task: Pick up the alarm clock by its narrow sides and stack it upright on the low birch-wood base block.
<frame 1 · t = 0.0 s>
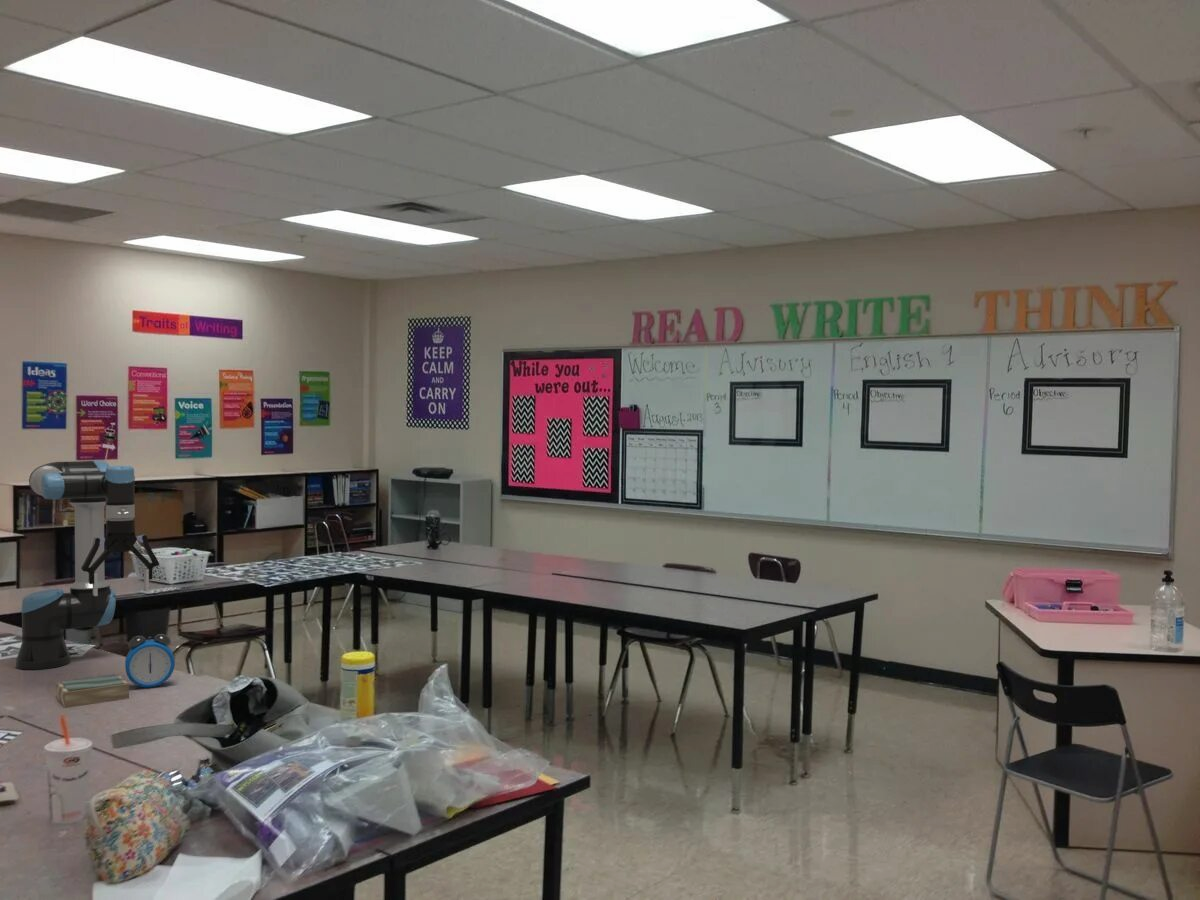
hand: (121, 593, 294), 28 cm above the table, fingers open, 13 cm apart
alarm clock: (150, 686, 299), on the table
base: (92, 697, 286), on the table
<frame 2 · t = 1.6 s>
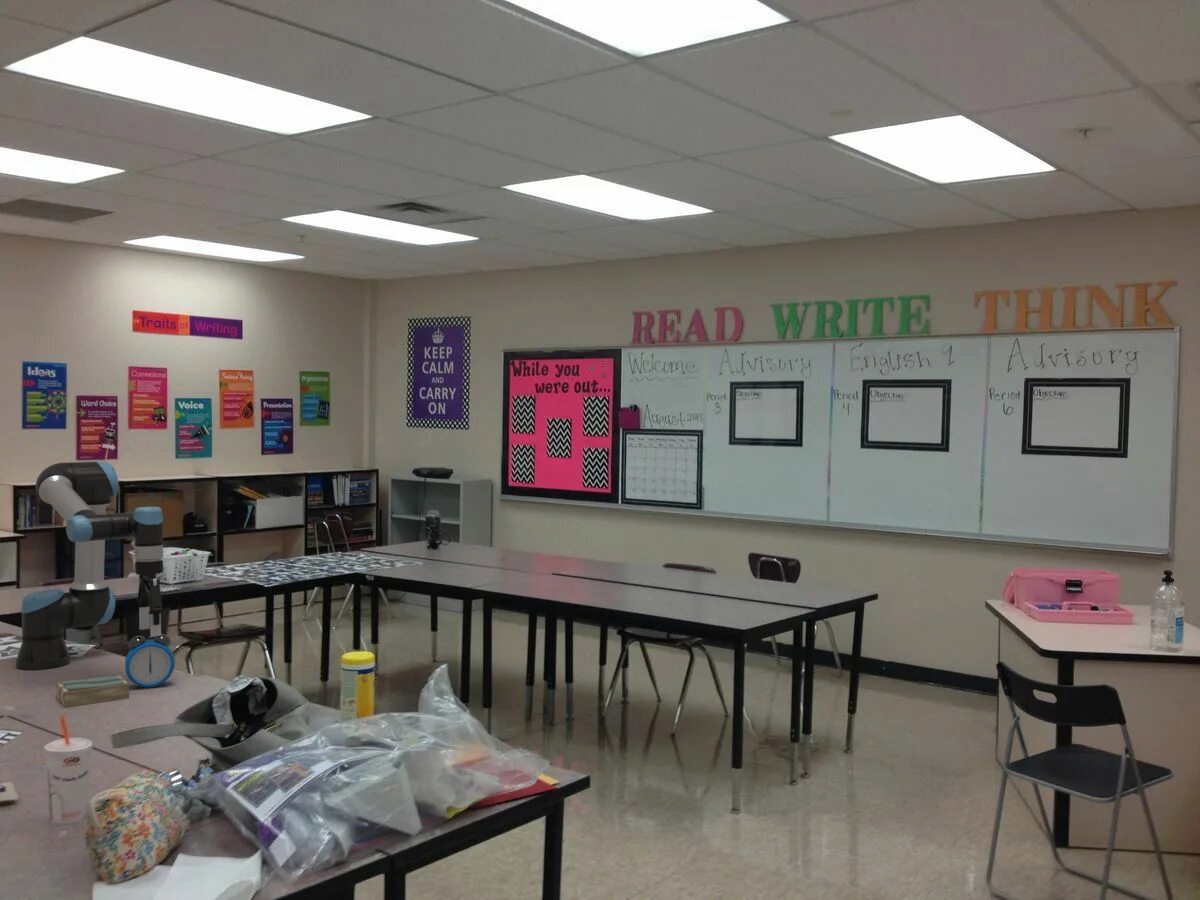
hand: (150, 632, 298), 16 cm above the table, fingers open, 13 cm apart
nothing on the table moved.
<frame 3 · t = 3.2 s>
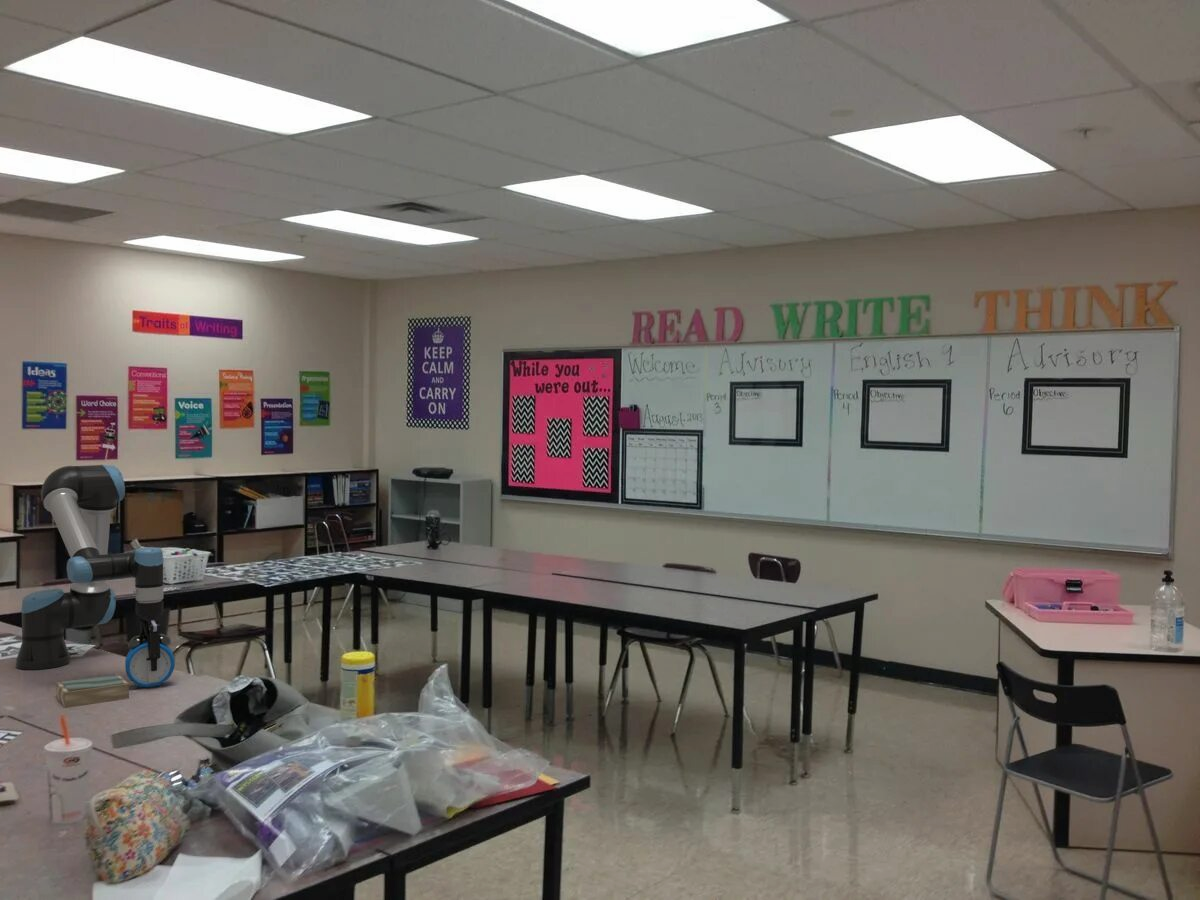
hand: (150, 679, 299), 2 cm above the table, fingers closed on alarm clock, 7 cm apart
alarm clock: (150, 686, 299), on the table, touching gripper
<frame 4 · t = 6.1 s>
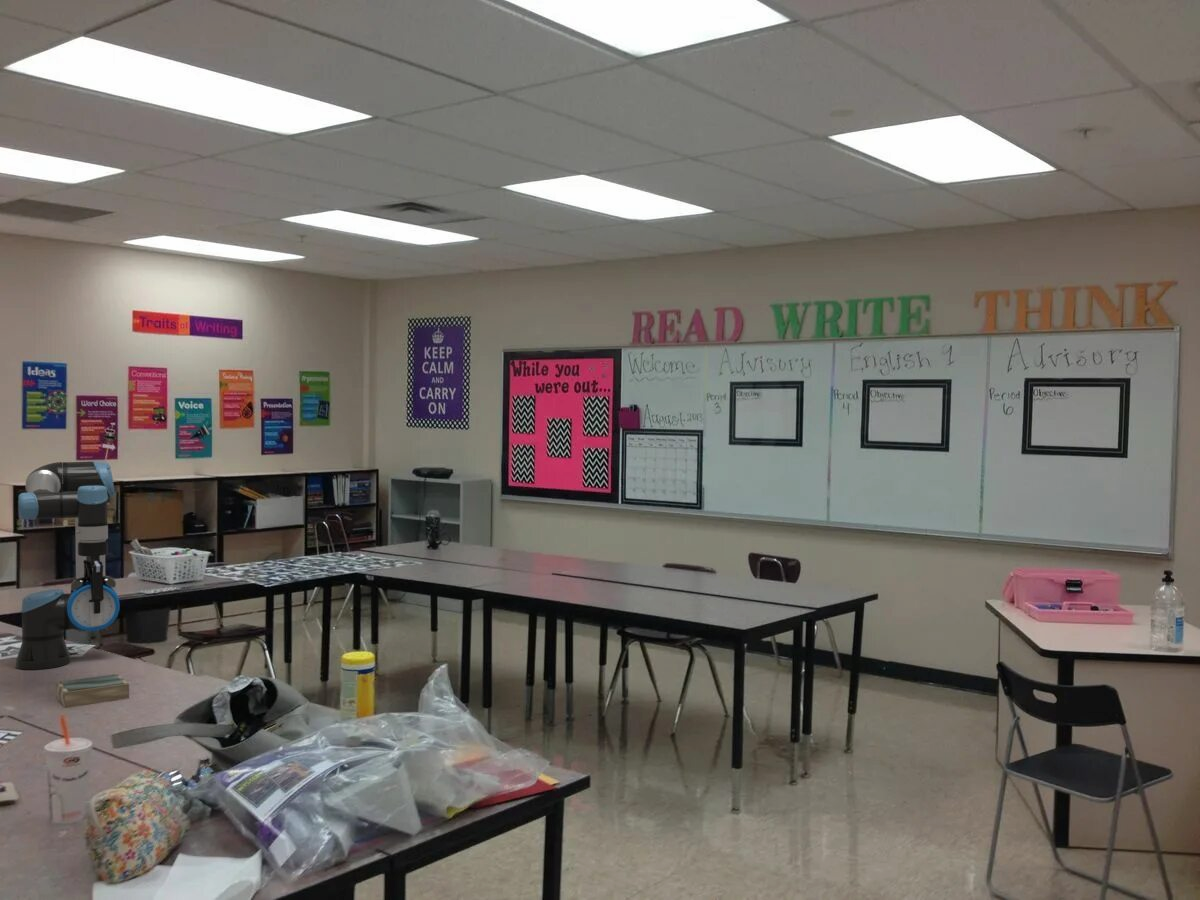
hand: (93, 622, 286), 21 cm above the table, fingers closed on alarm clock, 7 cm apart
alarm clock: (93, 630, 286), point 19 cm above the table, touching gripper
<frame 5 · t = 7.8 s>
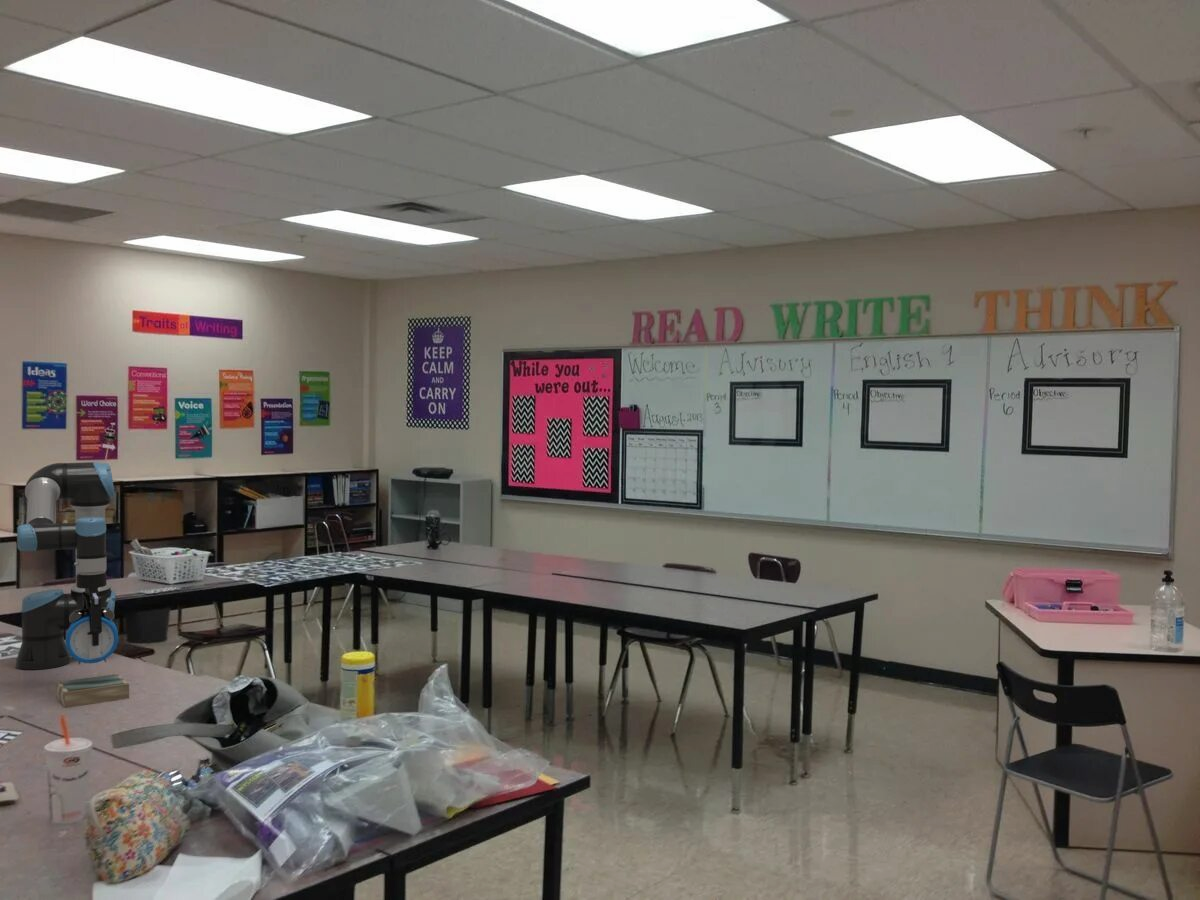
hand: (92, 654, 286), 12 cm above the table, fingers closed on alarm clock, 7 cm apart
alarm clock: (92, 662, 286), point 10 cm above the table, touching gripper
when the fingers open (7 cm above the table, at t = 9.1 s): alarm clock stays where it is, resting on base.
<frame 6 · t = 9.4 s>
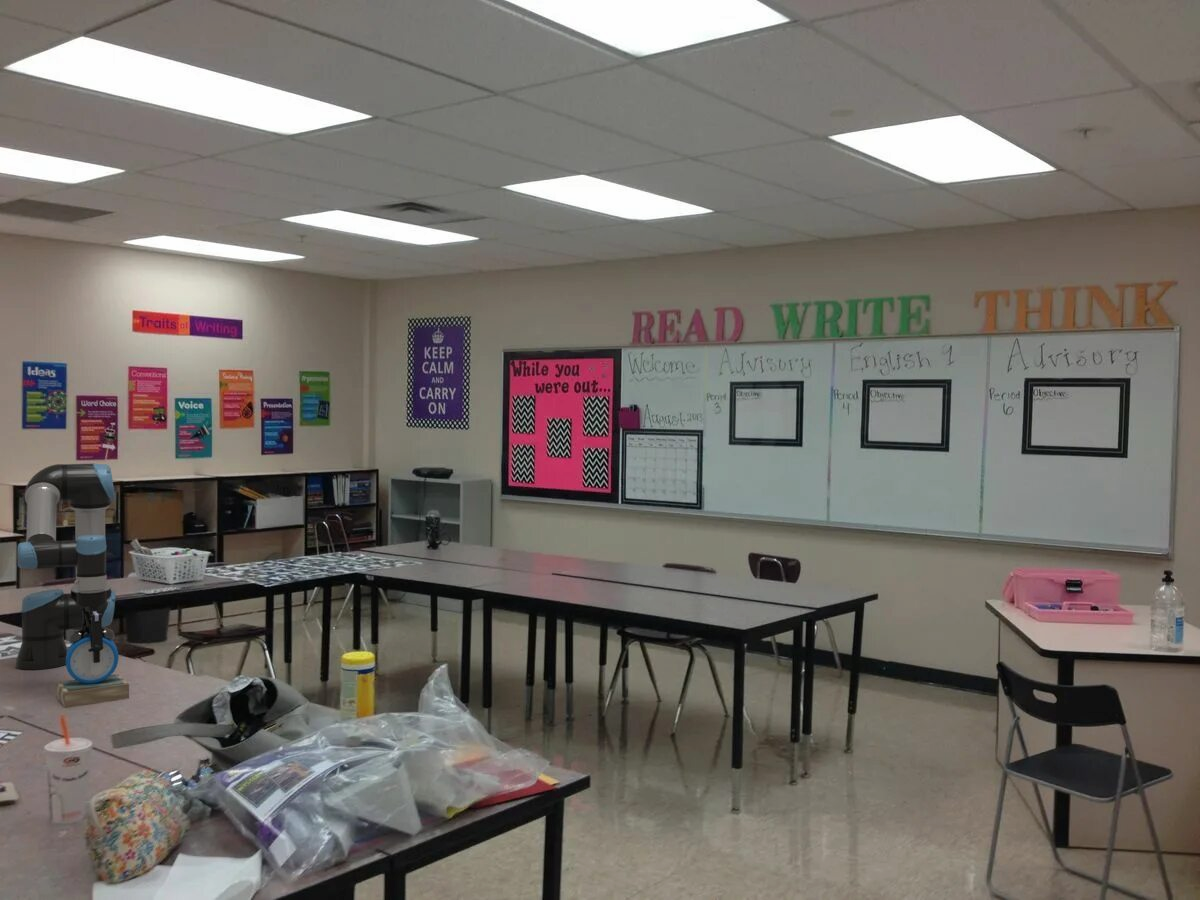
hand: (92, 670, 286), 8 cm above the table, fingers open, 9 cm apart
alarm clock: (92, 682, 286), point 4 cm above the table, touching base
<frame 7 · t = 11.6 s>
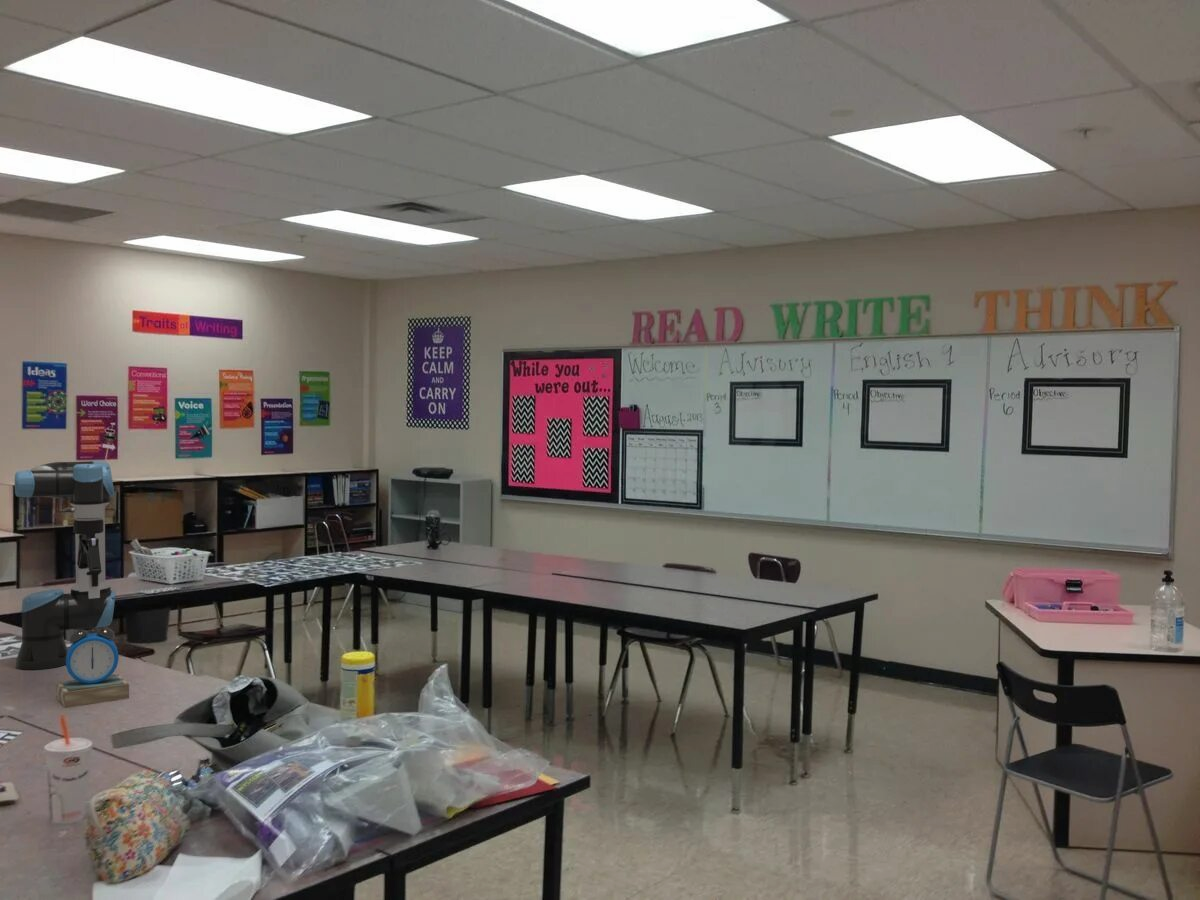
hand: (89, 594, 286), 29 cm above the table, fingers open, 13 cm apart
nothing on the table moved.
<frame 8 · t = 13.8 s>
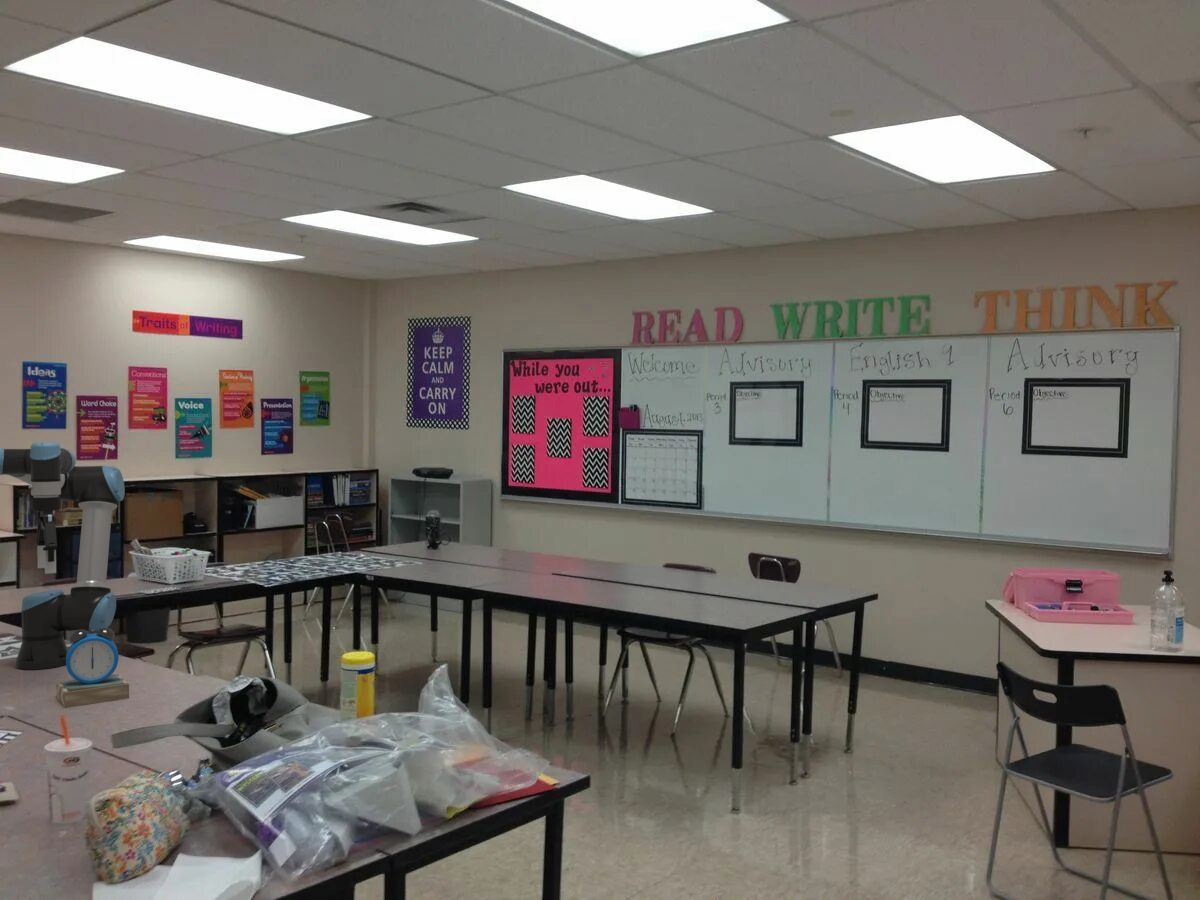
hand: (46, 570, 292), 35 cm above the table, fingers open, 13 cm apart
nothing on the table moved.
at the end: alarm clock inside the target area on the base (0.1 cm from its centre), point 4.1 cm above the base's base; alarm clock tilted 0°; the gripper is holding nothing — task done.
